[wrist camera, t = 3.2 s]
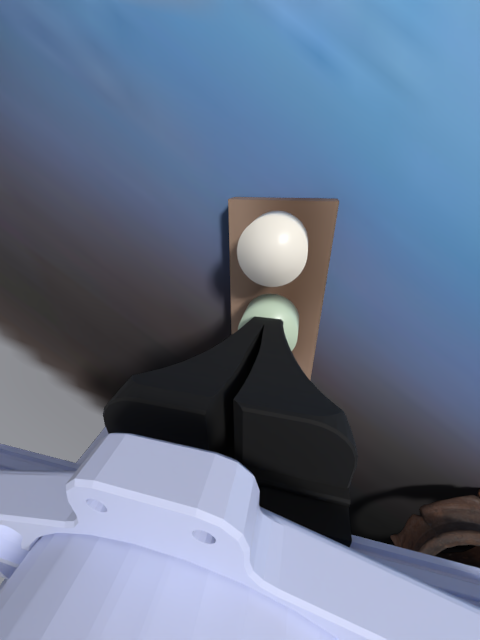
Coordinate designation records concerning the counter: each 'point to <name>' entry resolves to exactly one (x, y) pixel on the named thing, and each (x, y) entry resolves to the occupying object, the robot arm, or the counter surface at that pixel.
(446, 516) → the pottery mug
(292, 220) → the cream button
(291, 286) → the button panel
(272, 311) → the sage button
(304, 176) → the counter surface
